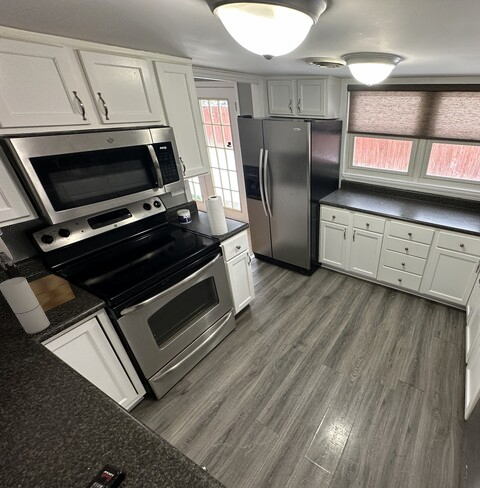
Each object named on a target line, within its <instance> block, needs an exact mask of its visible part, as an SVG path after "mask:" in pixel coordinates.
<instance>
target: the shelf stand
mask: <svg viewBox="0 0 480 488" xmlns="http://www.w3.org/2000/svg"><path fill="white" fill-rule="evenodd" d="M28 284H29V286H30V287H31V289H32V291H33V293H34V295H35V297H36V298H37V300H38V302H39V304H40V306H41V308H42V309H43V311H44V313H45V312H48V311H49V310H53V309H54V308H57V307H58V306H61V305H62V304H65V303H68V302H69V301H71V300H73V299H76V296H75V294H74V292H73V289H72V288H71V286H70V283H69V280H66V279H64V278H61V277H60V276H57V275H55V274H53V273H52V274H49V275H46V276H43V277H41V278H39V279H35V280H33V281H30V282H28Z"/></svg>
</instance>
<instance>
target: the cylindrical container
mask: <svg viewBox="0 0 480 488" xmlns="http://www.w3.org/2000/svg"><path fill="white" fill-rule="evenodd" d="M28 283H29V282H28V281H27V279H26V277H25V276H23V277H22V276H18V277H16V278H13V279H6V280H4V281H2V282H1V283H0V292H1V293H2V296H3V297H4V299H5V300H6V302H7V304H8V305H9V306H10V309H11V310H12V312H13V313H14V315H15V316H16V318H17V320H18V322H19V323H20V325H21V327H22V328H23V330H24V331H25V333H26V334H36V333H39V332H42V331H43V330H45V329H47V328H48V327H49V326H50V324H51V321H50V320H49V319H48V317H47V315H46V313H45V312H44V311H43V309H42V308H41V306H40V304H39V302H38V300H37V298H36V297H35V295H34V293H33V291H32V289H31V287H30V286H29V284H28Z"/></svg>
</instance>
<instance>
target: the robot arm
mask: <svg viewBox="0 0 480 488" xmlns="http://www.w3.org/2000/svg"><path fill="white" fill-rule="evenodd" d="M2 235H3V232H2V229H0V273H3V272H4V274H5V276H6V277H7V278H8V279H7V280H9V279H13V278H18V277H22V274H21V272H20V271H19V269H18V267H17V265H16V264H15V262H13V260H14V257H13V255H12V253H11V252H10V250H9V248H8V247H7V245H6V244H5V242H4V240H3V239H2V238H1V236H2Z"/></svg>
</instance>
